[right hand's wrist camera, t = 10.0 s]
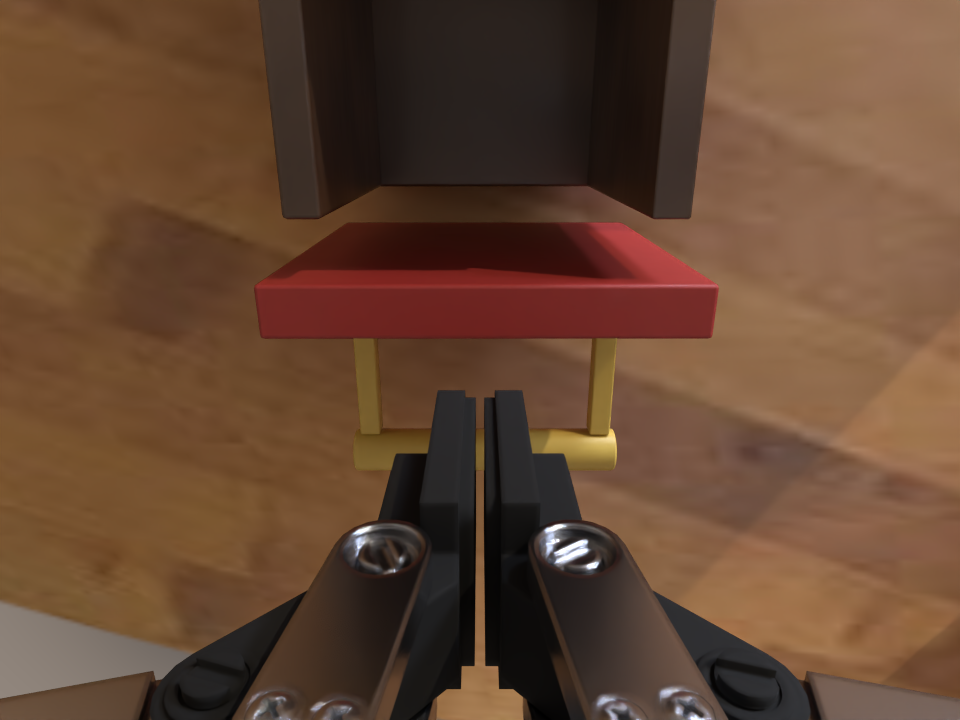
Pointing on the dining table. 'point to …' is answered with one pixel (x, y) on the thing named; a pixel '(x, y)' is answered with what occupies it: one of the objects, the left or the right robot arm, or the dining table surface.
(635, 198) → the drawer
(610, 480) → the dining table surface
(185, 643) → the dining table surface
